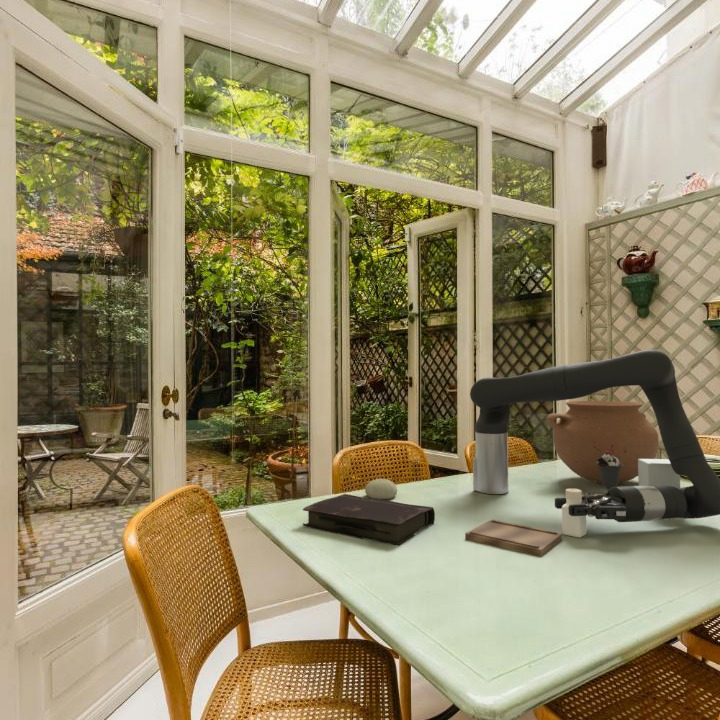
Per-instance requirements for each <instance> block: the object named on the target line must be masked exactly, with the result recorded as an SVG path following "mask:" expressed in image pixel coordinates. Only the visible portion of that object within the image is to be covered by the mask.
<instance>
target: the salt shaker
mask: <svg viewBox="0 0 720 720" xmlns="http://www.w3.org/2000/svg"><path fill="white" fill-rule="evenodd" d="M582 492H583V491H582V490H581V489H580V488H566V489H565V498H566V504H564V505H563V506H562V509H561V522H562V523H561V525H562V527H561V529H562V530H561V531H562V535H566V536H569V537H573V538H578V537H579V538H582V537H584V536H585V535H586V534H587V516H571V515H569V505H576V504H581V500H582Z"/></svg>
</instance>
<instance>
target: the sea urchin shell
mask: <svg viewBox="0 0 720 720" xmlns="http://www.w3.org/2000/svg"><path fill="white" fill-rule="evenodd" d="M364 493H365V494H366V496H367V497H368V498H371V499H380V500H391V499H394V497H396V495H397V493H398V488H397V485H396V483H394V482H393V481H391V480H390V479H387V478H376V479H372V480H371V481H369V482H367V484H366V485H365V489H364Z"/></svg>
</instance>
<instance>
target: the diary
mask: <svg viewBox="0 0 720 720" xmlns="http://www.w3.org/2000/svg"><path fill="white" fill-rule="evenodd" d="M302 511H303V512H304V511H305V512H307V514H308V519H307V520H308V521H307V523H304V522H302V525H303V526H304V527H306V528H309V529H313V530H318V531H322V532H326V533H332V534H337V535H343V536H345V535H346V536H348V537H351V538H352V537H353V538H357V539H361V540H362V539H366V540H371V541H376V542H378V543H381V544H387V545H392V546H396V547H400V546H401V545H403V544H404V543H406V542H407V541H409V540H411V539H412V538H414V537H416V534H415V533H417V532H418V531H420V530H421V529H424V528H425V527H426V526H427V527H428V525H435V520H436V516H435V515H436V513H435V509H434V507H433V506H426V505H425V506H424V505H417V504H416V505H415V504H407V503H403V502H398V501H393V500H389V499H373V498H371V497H362V496H358V495H352V494H347V493H343V494H340V495H338V496H335V497H330V498H326V499H323V500H320V501H317V502H314V503H312V504H310V505H307V506H304V507H303V508H302Z"/></svg>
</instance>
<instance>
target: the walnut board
mask: <svg viewBox="0 0 720 720" xmlns="http://www.w3.org/2000/svg"><path fill="white" fill-rule="evenodd" d="M464 535H465V536H464V537H465V540H467V541H468V540H469V541H473V542H477V543H481V544H486V545H490V546H495V547H499V548H504V549H508V550H512V551H516V552H520V553H521V552H522V553H525V554H530V555H534V556H539V557H542V556H543V555H545V554H546V553H548V551H550V550H551V549H553V548H554V547H555V546H556V545H557V544H559V543H560V542H561V541H562V540H563V533H558V532H557V531H554V530H553V531H552V530H548V529H543V528H537V527H532V526H527V525H523V524H518V523H512V522H507V521H501V520H496V519H490V520H488V521H486V522H484V523H482V524H480V525H478V526H476V527H475V528H473V529H471V530H469V531H467V532H465V534H464ZM558 542H559V543H558Z"/></svg>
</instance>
